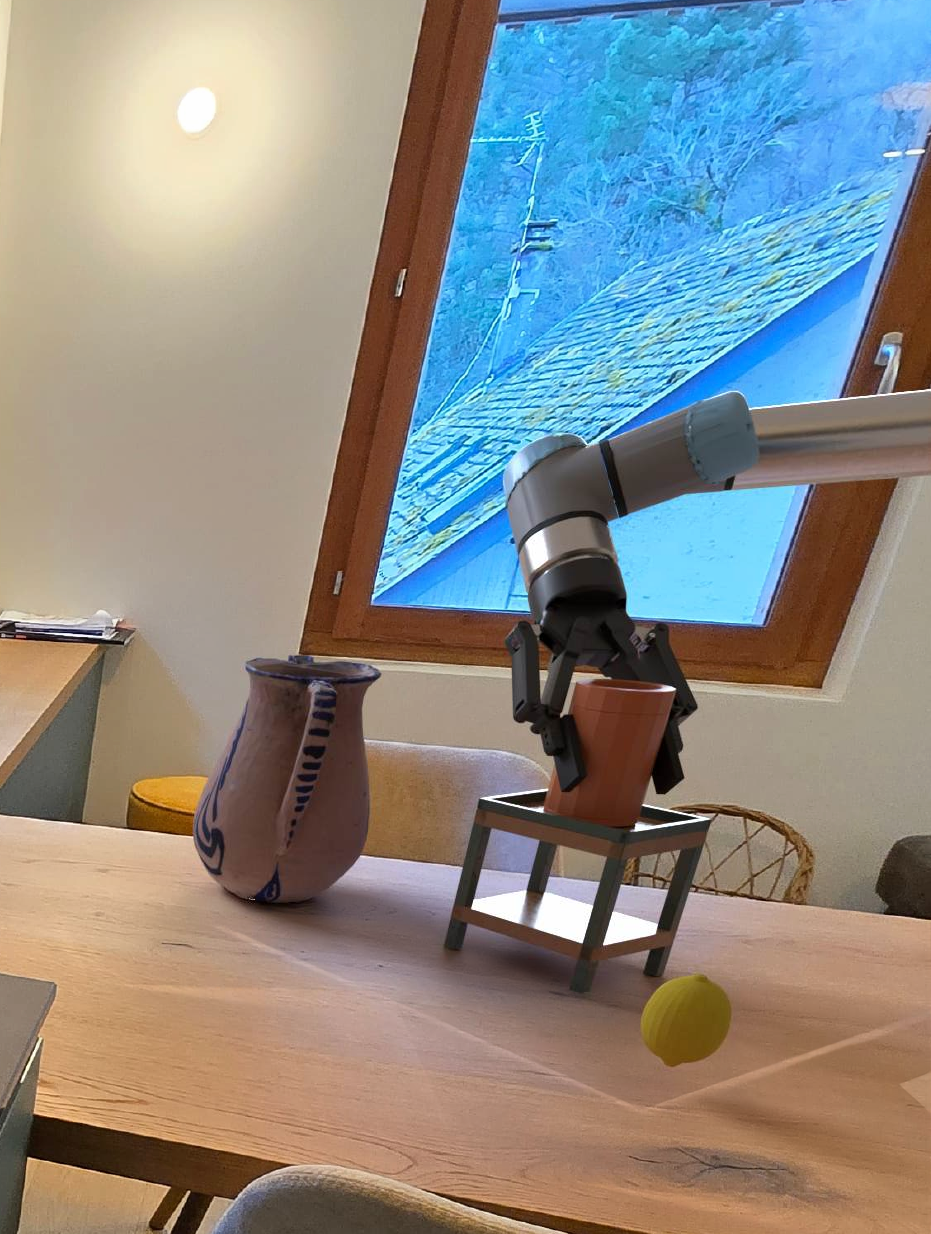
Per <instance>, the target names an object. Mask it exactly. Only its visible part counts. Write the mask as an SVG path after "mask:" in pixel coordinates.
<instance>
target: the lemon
mask: <svg viewBox="0 0 931 1234" xmlns="http://www.w3.org/2000/svg"><path fill="white" fill-rule="evenodd" d="M731 1020H732V1004H731V1000H730V998H729V995H728V994H727V992H726V991H725V990H724V988H722V987H721V986H720V985H719V984H717V982H715V981H713V980H712V979H709V978H708V977H707V975H706V974H704V973H700V972H699V973H695V974H693V975H684V976H679V977H675V978H673V979H670V980H668V981H666V982H664V983H663V984H661V985H659V987H657V988H656V990H655V991H654V992H653V994H652V995H651V996H650V998H649V999H648V1001H647V1003H646V1004H645V1006H644V1008H643V1010H642V1014H641V1019H640V1036H641V1039H642V1042H643V1043H644V1045H645V1046H646V1048H647V1049H648V1050H649V1051H650V1052H651V1053H652V1054H653V1055H655V1056H656V1057H658V1058H659V1059H660V1060H661V1061H662V1062H663V1064H664V1065H665V1066H667V1067H670V1068H675V1067H678V1066H679V1065H682V1064H691V1063H692V1064H693V1063H696V1062H700V1061H702V1060H704V1059H707V1058H708V1057H710V1056H711V1055H713V1054H714V1053H715V1052H716V1051H717V1050H719V1049H720V1047H721V1046H722V1045H723V1043H724V1041H725V1040H726V1037H727V1035H728V1033H729V1031H730V1026H731Z"/></svg>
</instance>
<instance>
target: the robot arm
mask: <svg viewBox="0 0 931 1234" xmlns="http://www.w3.org/2000/svg"><path fill="white" fill-rule="evenodd" d="M502 475H503V476H502V485H503V490H504V491H503V492H504V497H505V502H504V505H505V509H506V514H507V517H508V520H509V524H510V529H511V533H512V537H513V541H514V545H515V548H516V551H517V552H516V553H517V557H518V560H519V565H520V570H521V574H522V578H523V583H524V588H525V592H526V593H527V602H528V607H529V611H530V615H531V616H530V617H531V620H532V624H531V623H530V622H529V621H527V620H519V621H518V622H517V624H515V626H514V627H513V628H512V629H511V631H510V632H509V633H508V634H507V636H506V637H505V638H504V640H503V642H504V645H505V647H506V649H507V651H508V654H509V656H510V658H511V659H510V660H511V661H510V662H511V693H512V694H511V695H512V696H511V697H512V718H513V720H514V722H516V723H517V724H524V723H526V722H527V723H531V726H529V730H530V732H531V733H532V734H534V735H540V739H541V744H542V749H543V753H545V755H546V756H547V757H553V761H554V764H555V766H556V771H557V775H558V780H559V784H560V789H561V792H571V791H572V790H573V789H574V788H575V787H576V786H577V785H578V784H579V783H580V782H581V781H583V780H584V779H585V778H586V777H587V773H586V768H585V764H584V760H583V755H582V751H581V747H580V742H579V738H578V734H577V730H576V725H575V721H574V717H573V714H568V713H567V714H566V713H565V714H563V715H562V716H561V714H562V713H563V712H564V707H565V704H566V700H567V696H568V693H569V691H570V690H569V689H570V686H571V683H572V679H573V675H574V673H575V672H574V671H575V669H576V668H577V667H582V666H588V667H590V668H591V667H592V668H597V669H598V671H599V672H600V673H601V674H602V676H603V677H604V678H609V679H618V680H631V681H642V682H650V683H657V684H663V685H667V686H671V687H673V688H675V689H676V693H675V697H674V700H673V703H672V707H671V710H670V714H669V717H668V721H667V724H666V728H665V731H664V734H663V738H662V741H661V745H660V748H659V752H658V755H657V758H656V762H655V765H654V769H653V772H652V775H651V779H652V783H653V787H654V790H655V794H656V795H663V796H664V795H667V794H668V793H669V792H670V791H671V790H673V788H675V787H676V786H677V785H678V784H680V783H681V782H682V781H684V779H685V774H684V771H683V767H682V763H681V759H680V755H679V754H680V753H681V752H682V751H683V749H684V742H683V738H682V736H681V735H682V734H681V732H680V727H679V726H680V725H682V724H683V723H684V722H685V721H686V720H688V718H690V716H692V715H693V714H694V713H695V712H696V711H697V710H698V709H699V704H698V703H697V701H696V698H695V696H694V695H693V692H692V690H691V687H690V685H689V683H688V681H687V679H686V677H685V675H684V672H683V669H682V668H681V665H680V664H679V662H678V659H677V658H676V657H677V656H676V655H675V653H674V651H673V648H672V646H671V645H670V628H669V626H668V625H667V624H666V623H664V622H658V623H656V624H655V625H654V626H653V627H645V626H640V625H637V624H636V622H635V621H634V619H633V618H631V616H630V615H629V613H628V612H627V602H628V601H627V600H628V594H627V590H626V589H627V588H626V586H625V583H624V582H625V581H624V579H623V574H622V570H621V568H620V566H619V556H618V554H617V549H616V547H615V543H614V539H613V537H612V533H611V529H610V526H609V523H610V522H612V521H615V520H618V519H621V518H624V517H627V516H628V515H631V514H633V513H637V512H639V511H642V510H645V509H648V508H650V507H653V506H656V505H659V504H662V503H666V502H668V501H672V500H675V499H676V498H679V497H682V496H684V495H694V494H705V493H706V494H708V493H718V492H719V493H720V492H726V491H727V492H728V491H740V490H753V489H765V488H766V489H767V488H779V487H781V488H782V487H794V486H805V485H806V486H808V485H819V484H821V485H822V484H834V483H846V482H858V481H861V482H862V481H872V480H873V481H874V480H886V479H899V478H914V477H927V476H928V477H929V476H931V389H924V390H914V391H904V392H895V393H894V392H893V393H887V394H885V393H884V394H874V395H865V396H855V397H847V398H836V399H827V400H818V401H808V402H799V403H790V404H789V403H788V404H781V405H771V406H760V407H752V408H751V407H749V404H748V401H747V399H746V397H745V395H744V394H743V393H742V392H740V391H738V390H729V391H726V392H724V393H721V394H718V395H715V396H713V397H710V398H706V399H705V398H704V399H701V400H698V401H696V402H693V403H692V404H690V405H688V406H686V407H683V408H681V409H678V410H676V411H674V412H671V413H668V414H666V415H664V416H661V417H659V418H656V419H653V420H651V421H649V422H647V423H644V424H642V425H639V426H637V427H635V428H632V429H629V430H627V431H626V432H623V433H621V434H618V435H616V436H614V437H611V438H608V439H604V440H602V441H599V442H598V441H597V442H595V443H592V444H590V445H588V443H587V442H586V441H585V439H584V438H582V437H581V436H579V435H577V434H575V433H566V432H565V433H562V434H560V435H551V434H549V435H545V436H542V437H540V438H537V439H535V440H533V441H531V442H530V443H527V444H526V445H524V446H523V447H522V448H520V449H519V450H518V451H517V452H515V454H514V455H513V456H512V457H511V458H510V460H509V461H508V462H507V464H506V466H505V468H504V471H503V474H502ZM539 643H540V644H541V645H542V646H543V647H544V648H545V649H546V650H547V651H548V652H550V653H551V656H550V659H549V663H548V667H547V670H546V672H547V677H546V681H545V684H544V686H543V687H544V688H543V691H542V692H541V669H540V668H541V667H540V646H539V645H540V644H539ZM541 693H542V695H541Z"/></svg>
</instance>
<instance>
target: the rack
mask: <svg viewBox="0 0 931 1234" xmlns="http://www.w3.org/2000/svg"><path fill="white" fill-rule="evenodd" d="M547 791H548V788H545V789H537V790H530V791H522V792H516V793H515V792H514V793H508V794H500V795H492V796H486V797H479V798H478V802H477V805H476V811H475V815H474V818H473V823H472V827H471V832H470V836H469V840H468V844H467V848H466V853H465V856H464V859H463V865H462V869H461V873H460V877H459V880H458V886H457V889H456V893H455V897H454V902H453V906H452V910H451V913H450V918H449V922H448V927H447V931H446V935H445V940H444V943H443V947H444V948H448V949H450V950H453V951H455V950H459V949H460V950H461V949H462V948H463V946H464V942H465V938H466V933H467V930H468V925H472V926H475V927H478V928H482V929H485V930H487V931H491V932H494V933H497V934H500V935H503V936H507V937H509V938H513V939H515V940H519V941H520V942H521V941H522V942H525V943H528V944H530V945H533V946H537V947H539V948H543V949H546V950H549V951H553V952H555V953H559V954H562V955H566V956H568V957H571V958H574V959H577V960H576V965H575V967H574V971H573V975H572V979H571V981H570V985H569V989H568V990H570V991H572V992H575V993H578V994H581V995H582V994H586V993H590V992H591V989H592V985H593V982H594V978H595V975H596V971H597V968H598V965H599V962H600V961H606V960H609V959H614V958H620V957H622V956H623V957H624V956H627V955H633V954H636V953H641V952H642V953H643V952H646V951H649V952H648V955H647V959H646V961H645V965H644V969H643V974H646V975H650V976H652V977H659V976H663V975H664V974H665V970H666V967H667V964H668V961H669V958H670V954H671V951H672V948H673V946H674V942H675V938H676V935H677V932H678V929H679V927H680V922H681V920H682V916H683V913H684V910H685V907H686V903H687V900H688V897H689V894H690V891H691V887H692V885H693V881H694V878H695V875H696V871H697V868H698V865H699V861H700V859H701V856H702V852H703V849H704V845H705V843H706V839H707V837H708V833H709V830H710V827H711V824H712V822H713V819H712V818H709V817H704V816H700V815H694V814H690V813H685V812H680V811H675V810H671V809H666V808H662V807H657V806H651V805H648V804H643V806H642V810H641V813H640V816H639V817H638V821H637V823H636V824H635V825H631V826H623V827H608V826H604V825H599V824H595V823H591V822H586V821H582V820H578V819H573V818H569V817H565V816H560V815H556V814H552V813H547V812H543V809H544V802H545V798H546V795H547ZM492 830H498V831H501V832H505V833H509V834H513V835H517V836H521V837H525V838H528V839H533V840H536V841H538V845H537V848H536V852H535V856H534V859H533V863H532V868H531V871H530V874H529V875H530V876H529V879H528V882H527V887H526V890H521V891H515V892H510V893H504V894H500V895H494V896H487V897H483V898H476V893H477V889H478V884H479V881H480V877H481V873H482V868H483V865H484V861H485V856H486V853H487V849H488V844H489V840H490V836H491V833H492ZM558 846H561V847H565V848H568V849H571V850H572V849H573V850H577V851H581V852H585V853H589V854H593V855H597V856H601V857H604V858H606V859H605V862H604V866H603V869H602V873H601V876H600V880H599V882H598V883H599V884H598V887H597V889H596V894H595V898H594V901H593V905H591V904H587V903H585V902H581V901H577V900H574V899H571V898H567V897H563V896H561V895H556V894H554V893H549V892H546V890H547V886H548V882H549V879H550V875H551V871H552V867H553V864H554V860H555V856H556V853H557V848H558ZM675 851H679V854H678V856H677V861H676V864H675V867H674V870H673V874H672V877H671V880H670V883H669V887H668V889H667V893H666V895H665V900H664V902H663V906H662V909H661V913H660V916H659V918H658V923H655V922H651V921H649V920H648V921H647V920H644V919H641V918H638V917H634V916H631V915H627V914H623V913H620V912H616V911H614V910H615V906H616V903H617V900H618V896H619V893H620V889H621V887H622V882H623V879H624V875H625V873H626V870H627V866H628V862H629V859H636V858H640V857H641V858H642V857H646V856H647V857H648V856H654V855H657V854H659V855H660V854H665V853H670V852H675ZM475 898H476V899H475Z"/></svg>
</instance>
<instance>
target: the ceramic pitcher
mask: <svg viewBox="0 0 931 1234" xmlns="http://www.w3.org/2000/svg"><path fill="white" fill-rule="evenodd" d="M287 658H288V659H287V660H285V659H278V658H264V657H263V658H262V657H256V658H253V659H250V660H247V661H245V671H246V672H247V674H248V676H249V694H248V698H247V699H246V702H245V705H244V707H243V710H242V712H241V715H240V716H239V719H238V720H237V722H236V724H235V726H234V728H233V729H232V731H231V734H230V736H229V737H228V739H227V742H226V744H225V746H224V747H223V749H222V751H221V753H220V755H219V756H218V758H217V760H216V762H215V765H214V766H213V768H212V770H211V772H210V774H209V776H208V778H207V780H206V782H205V784H204V786H203V789H202V791H201V793H200V796H199V799H198V801H197V803H196V807H195V810H194V811H195V812H194V816H193V822H192V839H193V843H194V847H195V850H196V852H197V855H198V856H199V859H200V861H201V863H202V865H203V867H204V868H205V870H206V871H207V874H208V875H209V876H210V877H211V879H212V880H214V881H215V882H216V883H218V884H219V885H220V886H222V888H224V887H225V888H226V890H228V892H231V893H233V894H234V895H236V896H237V897H239V898H241V899H244V898H247V899H249V898H250V899H255V900H260V901H259V902H264V901H266V903H272V902H273V903H272V904H290V903H289V902H296V903H301V902H303V900H304V901H307V900H309V899H312V898H314V897H316V896H318V895H320V894H321V893H323V892H325V891H326V890H328V889H330V887H331V886H333V885H334V884H336V883H337V882H338V881H339V879H341V878H342V877H344V876H345V874H346V873H348V872H349V870H351V868H352V867H353V866H354V865H355V864H356V862H357V861H358V860H359V859H360V858H361V856H362V854H363V851H364V849H365V845H366V842H367V838H368V834H369V826H370V816H371V815H370V814H371V813H370V812H371V794H370V774H369V765H368V759H367V752H366V742H365V737H364V727H363V726H364V724H363V723H364V722H363V705H364V700H365V696H366V693H367V691H368V689H369V688H370V687H371V686H372V685H373V684H374V683H375V682H376V681H377V680H378V679H380V678H381V677H382V672H381V671H380V670H379V669H378V668H377V667H373V666H372V665H371V664H366V663H361V662H352V661H345V660H336V661H326V662H324V661H314V660H315V658H314V656H312V655H309V654H295V655H291V654H289V655H288V657H287ZM225 888H224V889H225ZM300 901H301V902H300Z"/></svg>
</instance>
